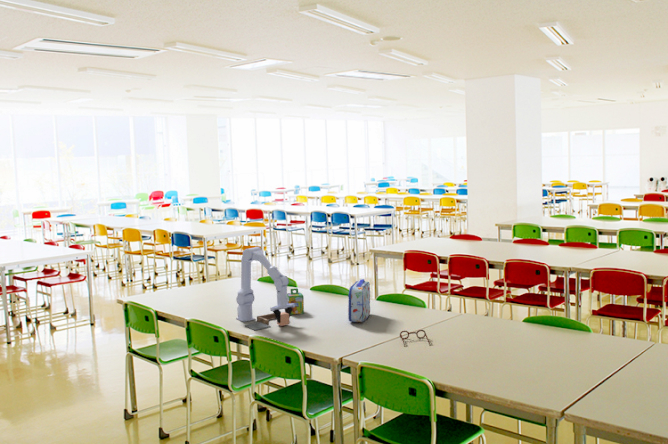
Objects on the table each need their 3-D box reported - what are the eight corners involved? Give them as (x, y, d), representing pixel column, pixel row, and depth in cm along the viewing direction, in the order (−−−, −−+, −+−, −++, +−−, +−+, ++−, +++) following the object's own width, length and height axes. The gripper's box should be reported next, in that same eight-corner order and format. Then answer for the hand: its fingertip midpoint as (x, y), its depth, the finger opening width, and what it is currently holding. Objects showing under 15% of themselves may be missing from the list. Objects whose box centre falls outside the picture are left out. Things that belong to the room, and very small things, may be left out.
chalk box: (289, 315, 347) (288, 291, 345) (286, 311, 355) (285, 288, 354) (304, 313, 349) (303, 289, 348) (301, 310, 358) (300, 286, 356)
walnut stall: (257, 321, 335) (256, 316, 335) (278, 317, 343) (278, 312, 343) (267, 325, 325) (266, 320, 325) (289, 321, 334) (288, 316, 333)
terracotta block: (277, 324, 325) (276, 313, 325) (284, 322, 328) (284, 312, 328) (281, 325, 321) (281, 315, 321) (289, 324, 324) (288, 313, 323)
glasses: (425, 338, 293) (425, 329, 293) (430, 346, 280) (430, 336, 280) (399, 339, 293) (399, 330, 292) (403, 348, 280) (403, 337, 279)
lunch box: (354, 312, 349) (353, 276, 346) (372, 312, 346) (371, 276, 344) (346, 324, 322) (345, 286, 320) (365, 325, 320) (364, 286, 318)
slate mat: (244, 326, 326) (244, 325, 326) (260, 322, 332) (260, 321, 332) (254, 330, 317) (254, 329, 316) (270, 327, 322) (270, 326, 322)
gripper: (274, 301, 316) (275, 325, 317) (296, 297, 324) (297, 320, 325) (268, 299, 322) (269, 322, 323) (290, 294, 330) (291, 318, 331)
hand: (283, 321), depth 325 cm, fingers closed on terracotta block, 5 cm apart
